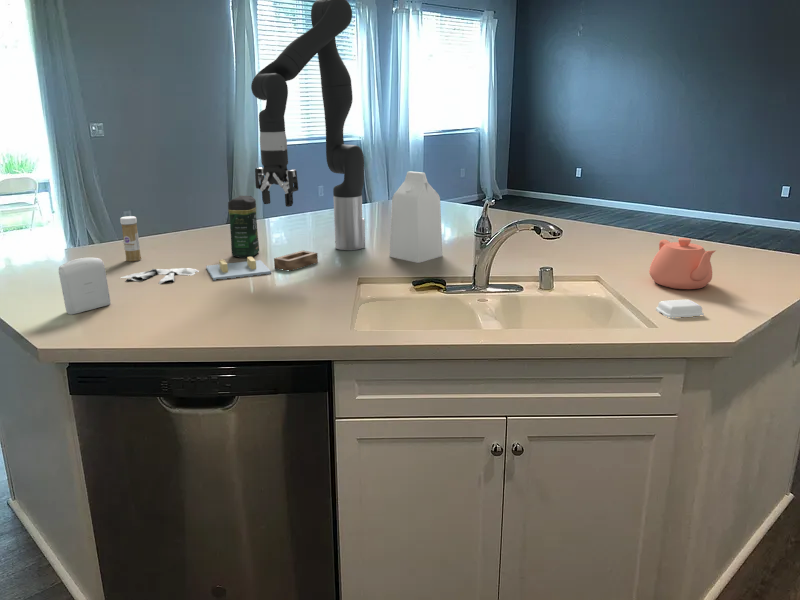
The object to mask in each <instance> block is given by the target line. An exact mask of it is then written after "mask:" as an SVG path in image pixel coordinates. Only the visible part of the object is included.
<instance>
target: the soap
mask: <svg viewBox="0 0 800 600" xmlns="http://www.w3.org/2000/svg"><path fill="white" fill-rule="evenodd" d="M655 311H656V312H658V313H659V314H662V316H664V317H665V316H667V317H666V318H668V317H670V318H669V319H676V318H675V317H692V316H700V315H703V316H704V312H703V307H702V305H700V304H698V303H696V301H695V302H694V301H693V300H691V299H688V298H687V299H670V300H669V299H668V300H662V301H659V302H658V305H657V306H656V308H655ZM672 317H673V318H672Z"/></svg>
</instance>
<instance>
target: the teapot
mask: <svg viewBox="0 0 800 600" xmlns="http://www.w3.org/2000/svg"><path fill="white" fill-rule="evenodd" d="M715 252H716V250H707V251H706V250H705V248H704V247H703V246H702V245H700V244H696V243H692V239H691V238H688V237H680V238H678V240H677V241H674V242H673V241H672V242H671V241H669V240H667V239H661V240H659V243H658V251H657V252H656V253H655V255H654V257H653V259H652V261H651V263H650V265H649V270H648V271H649V275H650V278H651V279H652V281H654V283H655V284H657V285H660V286H662V287H666V288H671V289H675V290H698V289H701V288H704V287H706V286H707V285H708V284H709V283H710V282H711V281H712V279H713V267H712V263H711V258H712V256H713V254H714V253H715Z"/></svg>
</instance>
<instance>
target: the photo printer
mask: <svg viewBox="0 0 800 600" xmlns="http://www.w3.org/2000/svg"><path fill="white" fill-rule="evenodd" d="M106 272H107V271H106V268H105V264H104V260H102V258H98V257H92V256H91V257H80V258H75V259H72V260H69V261H67V262H65V263H63V264H62V265H60V266H59V267H58V275H59V282H60V286H61V287H60V288H61V291H62V292H61V293H62V296H63V301H64V306H65V311H66V314H67V313H68V314H67V315H76V314H80V313H82V312H83V313H84V312H86V311H87V312H88V311H90V310H91V311H92V310H94V309H97V308H102V307H106V306H110V305H111V297H110V290H109V284H108V279H107V274H106Z"/></svg>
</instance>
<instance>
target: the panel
mask: <svg viewBox="0 0 800 600" xmlns="http://www.w3.org/2000/svg"><path fill="white" fill-rule="evenodd" d="M218 261H219V264H212V265H210V264H209V265H206V270H207V272H208V274H209V273H210V274H209V275H210V277H211V279H212V278H213V279H212V280H213V281H217V280H216V279H223V280H228V279H227V278H231V279H237V278H236V277H240V278H245V277H244V276H248V277H254V276H253V275H257V276H262V275H261V274H266V275H271V274H272V271H271V269H270V268H269V267H268V266H267V265H266V264H265V263H264V262H263V261H262V260H261V259H258V260H255V258H254V256H252V257H250V256H249V257H246V261H238V262H229V263H228V262H227V261H226V260H225V259H224V258H223V259H219V260H218ZM270 273H271V274H270Z"/></svg>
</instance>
